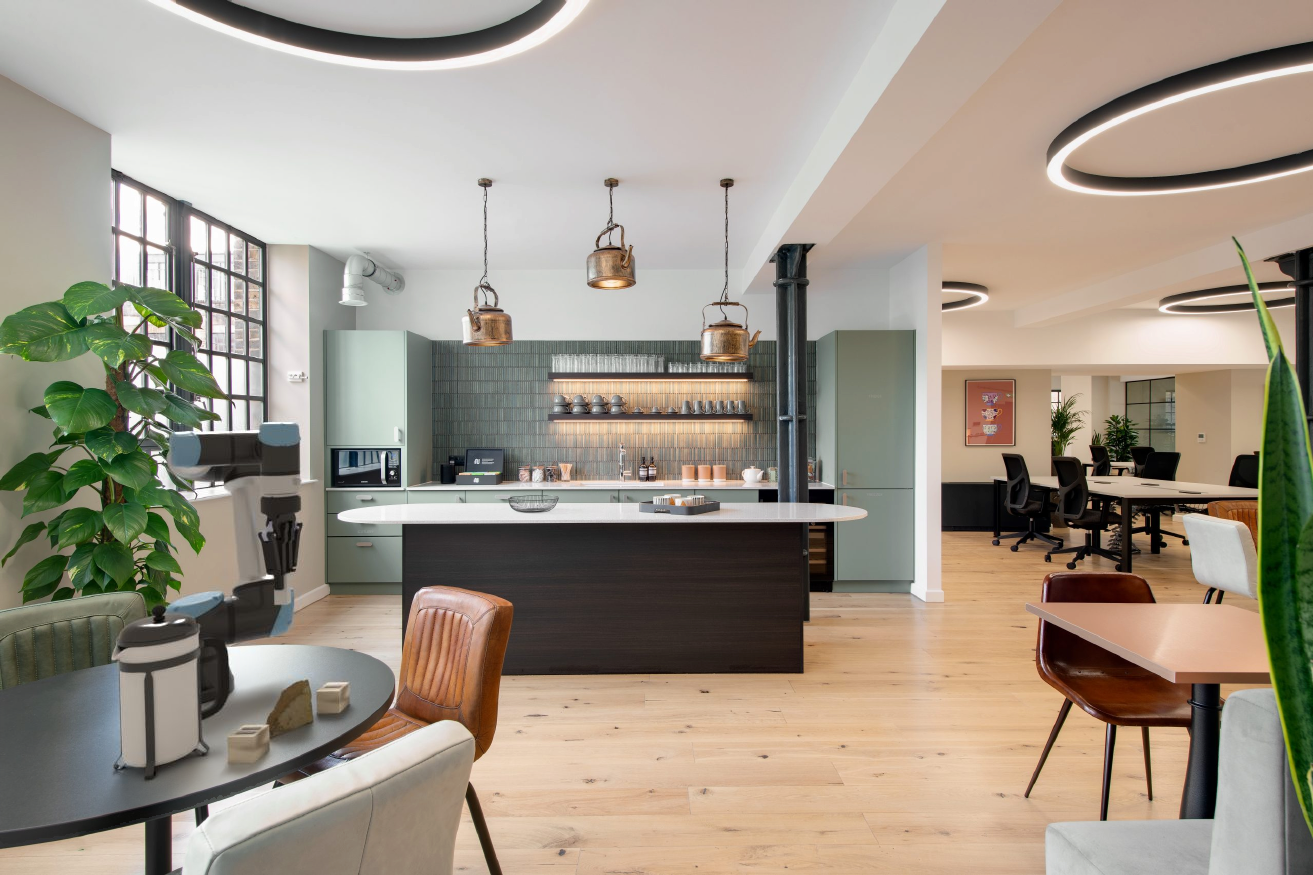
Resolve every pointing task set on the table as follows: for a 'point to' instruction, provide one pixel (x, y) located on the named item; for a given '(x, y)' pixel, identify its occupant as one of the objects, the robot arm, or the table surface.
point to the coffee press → (164, 689)
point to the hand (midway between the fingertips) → (282, 603)
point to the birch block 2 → (333, 697)
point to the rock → (291, 709)
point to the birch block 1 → (248, 743)
